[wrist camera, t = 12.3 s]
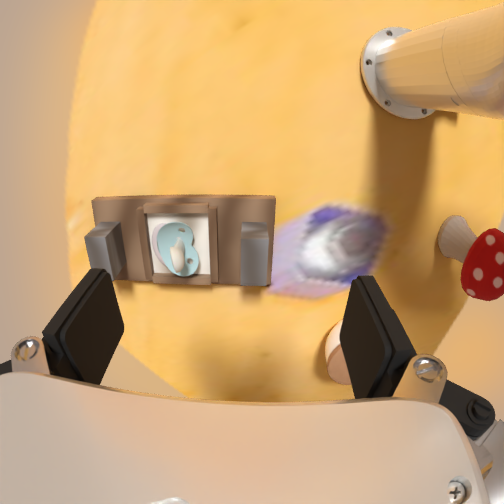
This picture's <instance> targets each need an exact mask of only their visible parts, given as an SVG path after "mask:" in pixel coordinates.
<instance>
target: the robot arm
mask: <svg viewBox="0 0 504 504" xmlns="http://www.w3.org/2000/svg"><path fill="white" fill-rule="evenodd" d="M387 34H388V35H387ZM366 62H368V65H367V64H366ZM360 65H361V74H362V77H363V80H364V83H365V85H366V87H367V90H368V92H369V93H370V94H371V96H372V97H373V99H374V100H375V101H376V102H377V103H378V104H379V105H380V106H381V107H382V108H383V109H385V110H386V111H387V112H389V113H391V114H393V115H395V116H398V117H401V118H406V119H420V118H424V117H426V116H428V115H430V114H432V113H433V112H434V111H435V110H442V111H450V112H458V113H464V114H471V115H477V116H483V117H488V118H493V119H504V2H503V3H500V4H498V5H495V6H492V7H488V8H485V9H481V10H478V11H475V12H471V13H468V14H464V15H460V16H457V17H453V18H450V19H447V20H443V21H440V22H437V23H434V24H431V25H428V26H425V27H422V28H419V29H416V30H413V31H412V30H410V29H407V28H402V27H389V28H385V29H382V30H380V31H378V32H376V33H375V34H373V35H372V36H371V37H370V38H369V39H368V40H367V42H366V44H365V46H364V47H363V51H362V54H361V64H360ZM385 101H386V103H387V104H386V105H385ZM123 332H124V323H123V320H122V316H121V313H120V309H119V306H118V302H117V298H116V295H115V291H114V287H113V283H112V279H111V275H110V273H108V272H107V271H106V269H101V268H91V269H90V270H89V271H88V273H87V274H86V275H85V276H84V278H83V279H82V280H81V281H80V283H79V284H78V285H77V286H76V288H75V289H74V290H73V291H72V293H71V294H70V295H69V297H68V298H67V299H66V301H65V302H64V303H63V304H62V306H61V307H60V308H59V310H58V311H57V312H56V314H55V315H54V316H53V318H52V319H51V320H50V322H49V323H48V325H47V326H46V327H45V329H44V330H43V332H42V333H43V336H44V337H43V338H42V340H41V339H39V338H38V337H33V336H30V337H25V338H23V339H21V340H20V341H19V342H17V343H16V344H15V346H14V347H13V349H12V352H11V360H9V361H7V362H5V363H2V364H0V504H504V422H503V421H502V420H499V421H498V422H497V421H496V420H495V411H494V408H493V406H492V405H491V404H490V402H489V401H487V400H486V399H484V398H483V397H481V396H479V395H477V394H474V393H472V392H471V391H469V390H467V389H465V388H463V387H461V386H459V385H457V384H455V383H452V382H451V381H449V380H447V369H446V367H445V365H444V364H443V362H442V361H441V360H439V359H438V358H436V357H434V356H432V355H429V354H420V355H417V354H416V352H415V350H414V348H413V346H412V344H411V342H410V340H409V338H408V336H407V334H406V332H405V330H404V328H403V326H402V324H401V322H400V321H399V319H398V317H397V315H396V313H395V311H394V310H393V309H391V307H390V305H389V303H388V302H387V300H386V298H385V296H384V294H383V293H382V291H381V289H380V287H379V285H378V284H377V282H376V280H375V278H374V277H373V276H358V277H357V279H354V280H353V281H352V283H351V288H350V292H349V297H348V301H347V305H346V310H345V314H344V318H343V322H342V326H341V329H340V334H339V339H340V344H341V348H342V351H343V355H344V358H345V362H346V365H347V369H348V373H349V377H350V380H351V384H352V388H353V392H354V396H355V399H349V400H333V401H310V402H239V401H219V400H204V399H192V398H181V397H172V396H164V395H156V394H149V393H142V392H135V391H129V390H123V389H117V388H112V387H106V386H101V385H100V383H101V381H102V378H103V376H104V374H105V371H106V369H107V367H108V365H109V363H110V360H111V358H112V356H113V354H114V352H115V349H116V347H117V345H118V343H119V341H120V339H121V337H122V335H123Z"/></svg>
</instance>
